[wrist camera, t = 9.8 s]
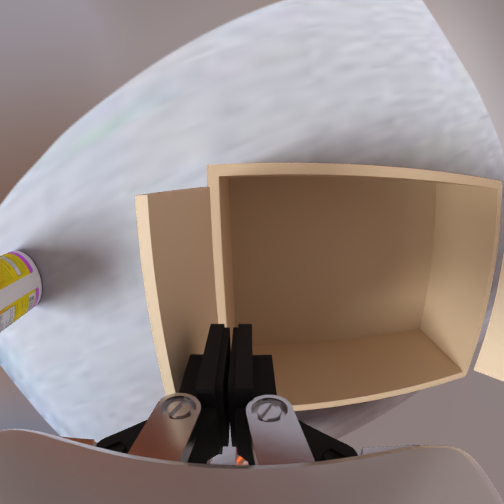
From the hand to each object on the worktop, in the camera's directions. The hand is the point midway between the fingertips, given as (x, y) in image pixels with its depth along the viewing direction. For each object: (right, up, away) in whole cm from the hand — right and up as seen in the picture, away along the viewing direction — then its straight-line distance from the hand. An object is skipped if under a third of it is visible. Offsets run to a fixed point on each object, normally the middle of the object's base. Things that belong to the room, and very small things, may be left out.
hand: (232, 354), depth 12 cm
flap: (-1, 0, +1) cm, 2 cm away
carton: (+9, +3, +14) cm, 16 cm away
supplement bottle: (-24, +1, +14) cm, 28 cm away
